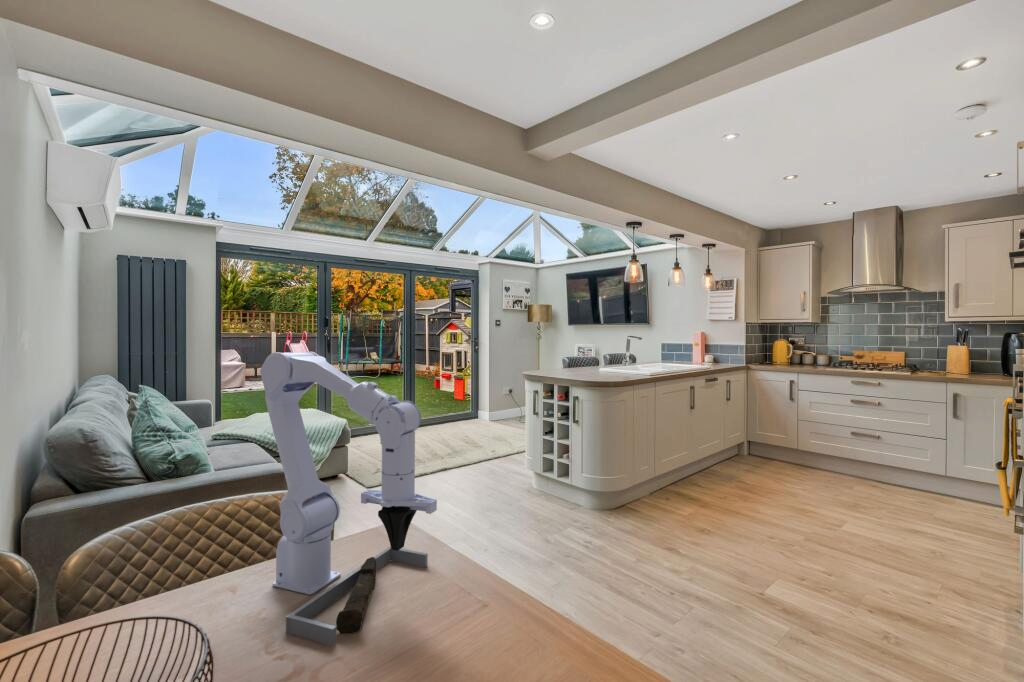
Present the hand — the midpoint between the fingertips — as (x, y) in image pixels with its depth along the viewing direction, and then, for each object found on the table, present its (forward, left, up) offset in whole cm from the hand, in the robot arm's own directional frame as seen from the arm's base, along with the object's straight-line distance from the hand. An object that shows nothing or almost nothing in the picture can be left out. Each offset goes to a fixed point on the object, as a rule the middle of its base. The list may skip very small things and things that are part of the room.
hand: (397, 547), depth 84 cm
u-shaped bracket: (-6, 0, -9) cm, 11 cm away
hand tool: (-6, -3, -10) cm, 12 cm away
